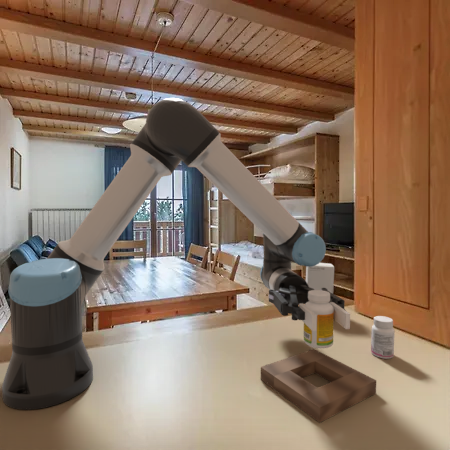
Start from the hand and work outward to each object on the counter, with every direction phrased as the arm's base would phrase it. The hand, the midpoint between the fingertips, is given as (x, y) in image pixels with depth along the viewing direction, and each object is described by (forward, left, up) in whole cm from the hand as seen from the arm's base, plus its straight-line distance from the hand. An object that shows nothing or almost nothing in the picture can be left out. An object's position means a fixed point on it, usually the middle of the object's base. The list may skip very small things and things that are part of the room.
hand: (331, 322), depth 56 cm
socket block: (+2, +5, -14) cm, 15 cm away
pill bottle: (+25, +6, -15) cm, 30 cm away
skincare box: (+35, +34, -15) cm, 51 cm away
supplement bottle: (+2, +5, -6) cm, 8 cm away
